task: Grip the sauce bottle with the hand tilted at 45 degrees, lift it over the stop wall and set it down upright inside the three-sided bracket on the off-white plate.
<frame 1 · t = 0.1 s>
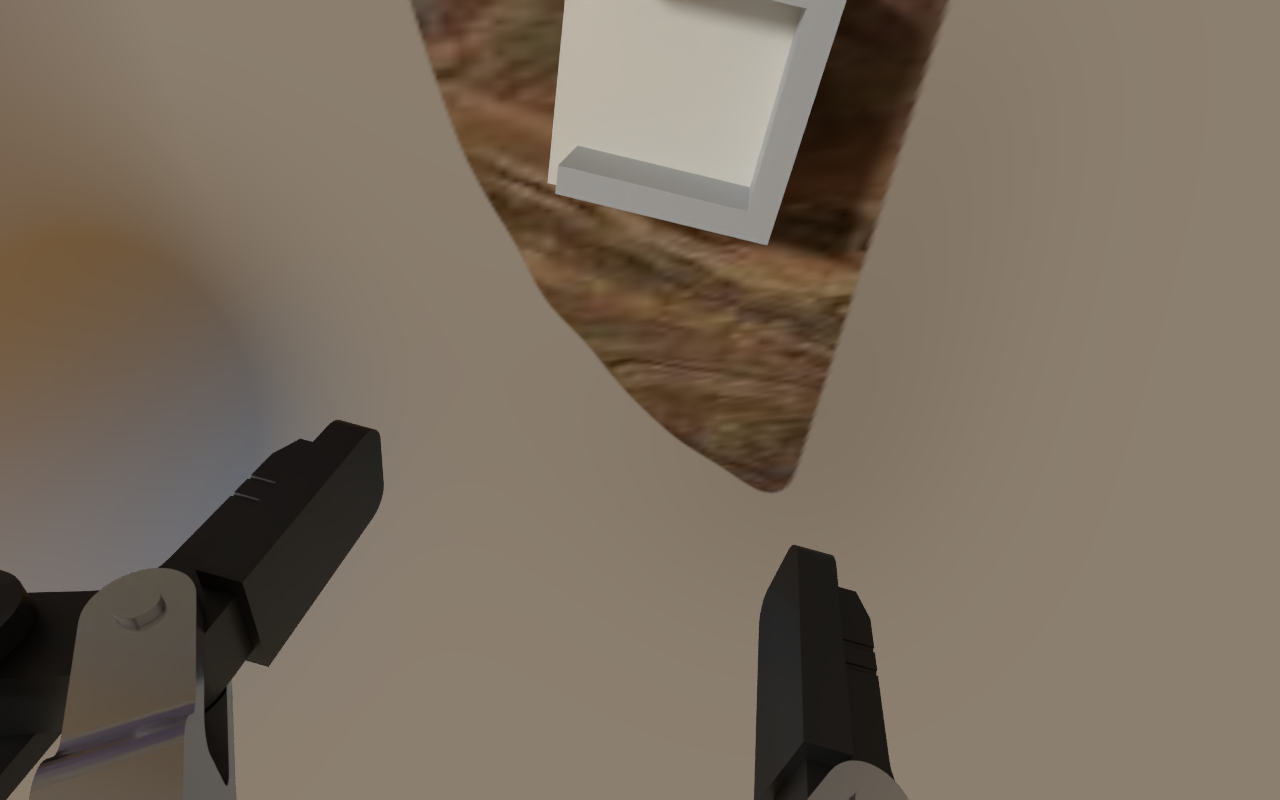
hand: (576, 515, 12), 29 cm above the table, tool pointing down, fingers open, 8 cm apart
lock plate: (682, 76, 34), on the table
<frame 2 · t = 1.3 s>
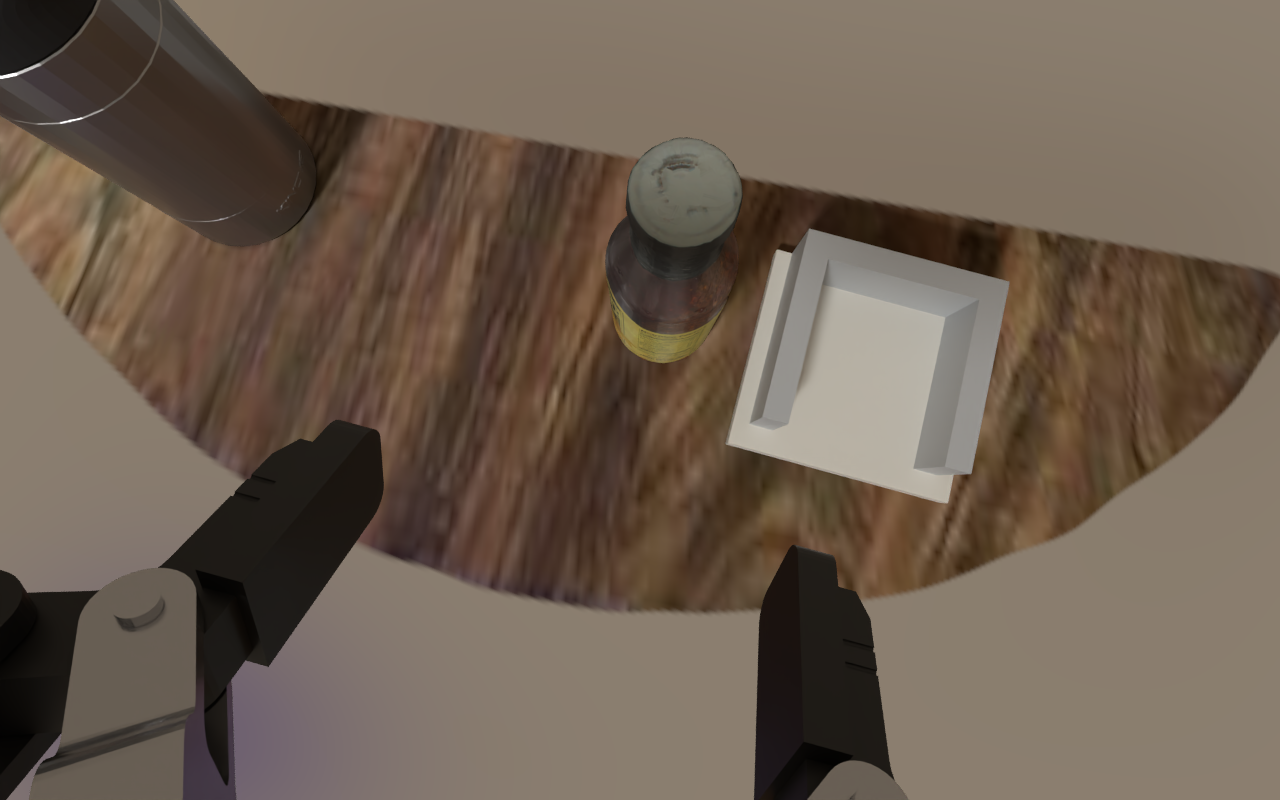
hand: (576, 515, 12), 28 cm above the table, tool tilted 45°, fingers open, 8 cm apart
sauce bottle: (660, 324, 42), on the table
lock plate: (854, 375, 41), on the table
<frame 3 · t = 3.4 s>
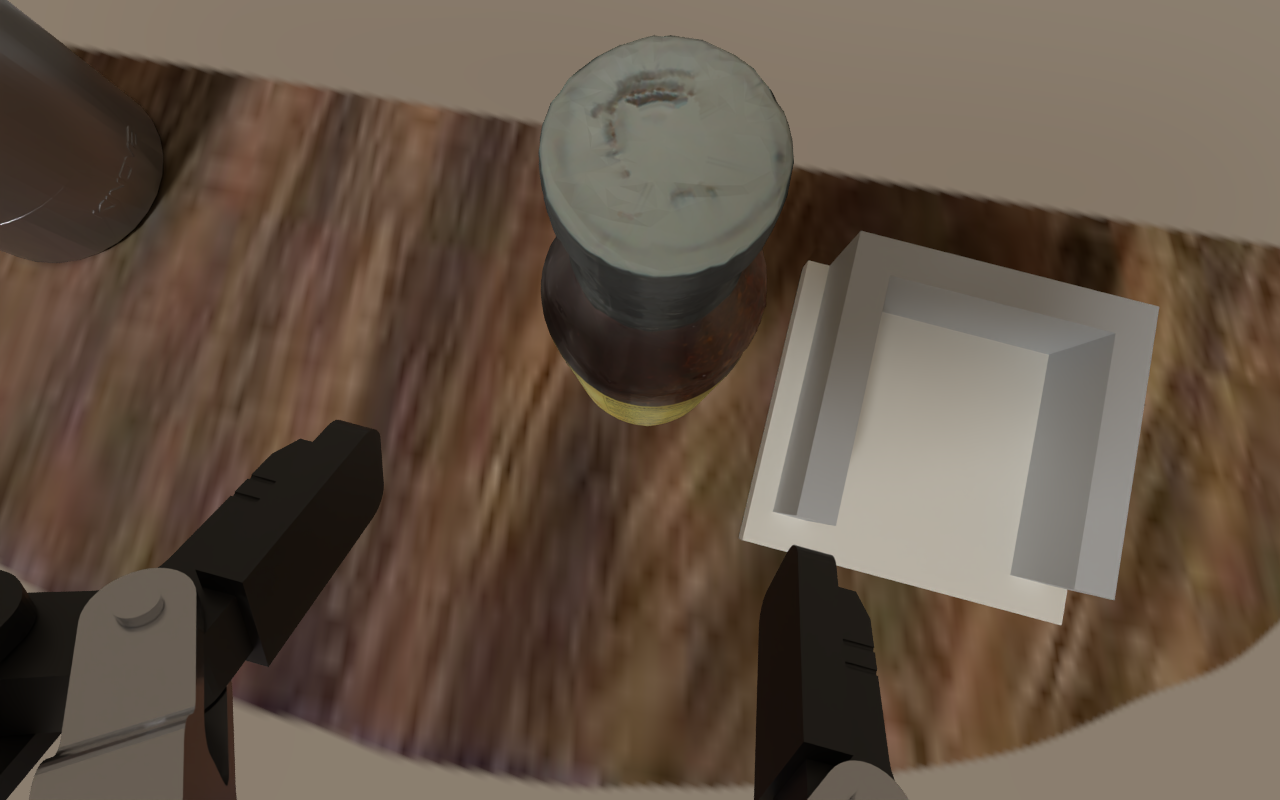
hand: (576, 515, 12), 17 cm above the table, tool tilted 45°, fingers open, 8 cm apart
sauce bottle: (645, 366, 30), on the table
lock plate: (920, 437, 29), on the table
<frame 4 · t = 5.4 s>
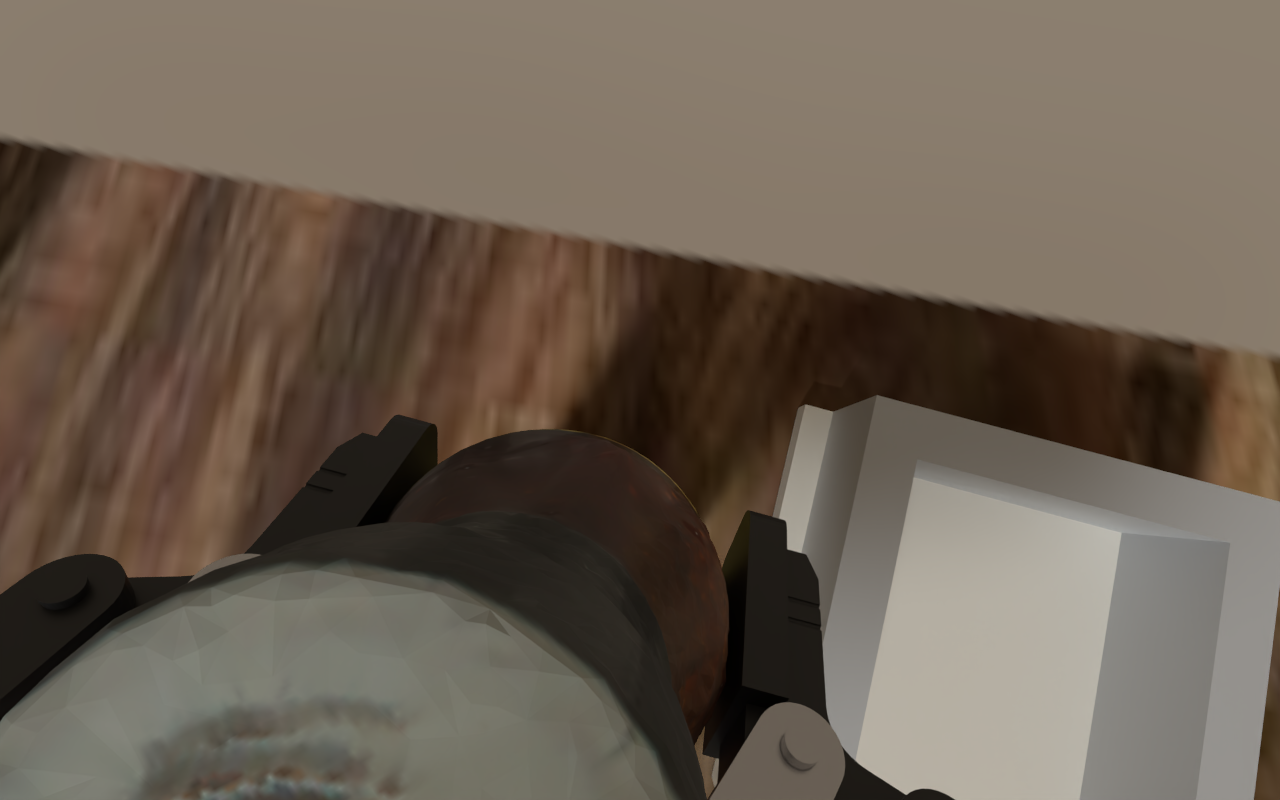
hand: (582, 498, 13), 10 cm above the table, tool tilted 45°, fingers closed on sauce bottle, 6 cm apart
sauce bottle: (592, 539, 23), on the table, touching gripper
lock plate: (950, 637, 22), on the table
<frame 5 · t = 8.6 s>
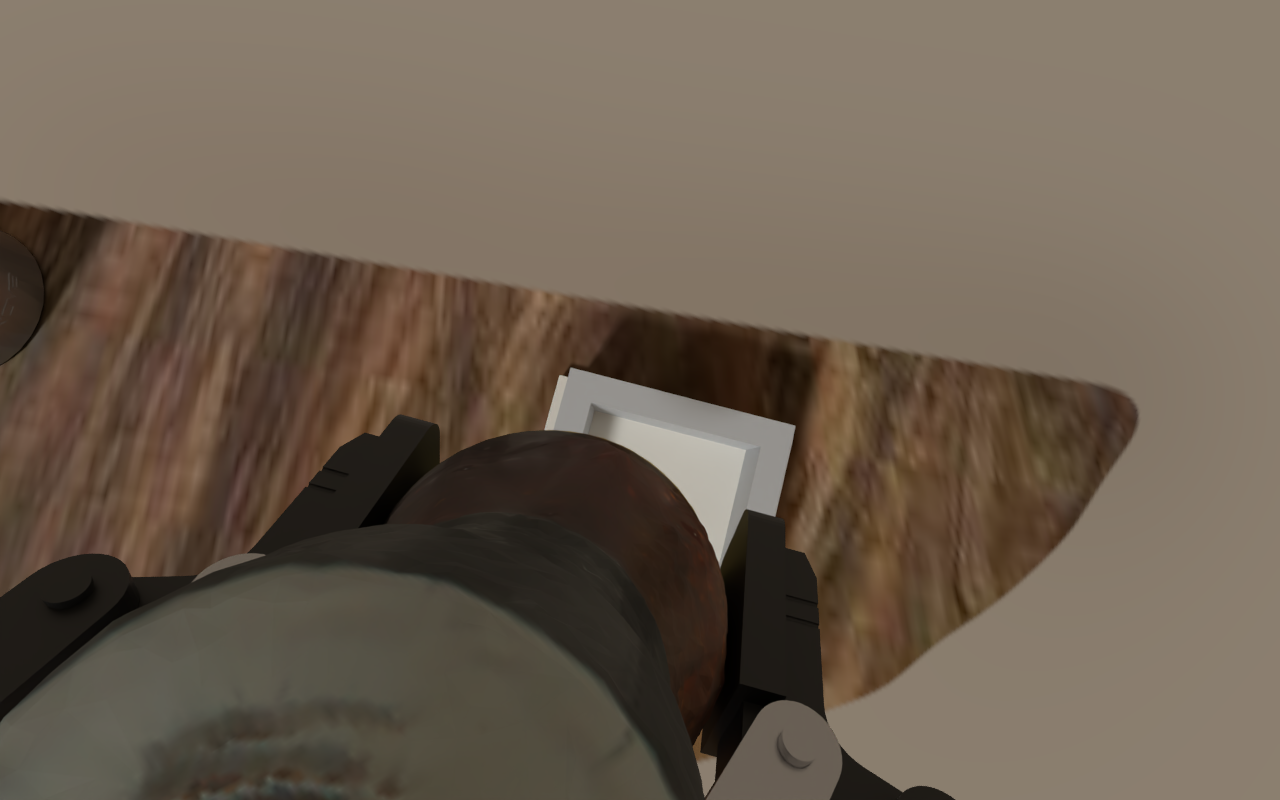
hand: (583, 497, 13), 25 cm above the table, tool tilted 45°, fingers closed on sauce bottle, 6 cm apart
sauce bottle: (591, 540, 23), point 14 cm above the table, touching gripper
lock plate: (648, 514, 37), on the table
when the fingers open (12 cm above the table, at t = 11.8 s): sauce bottle stays where it is, resting on lock plate.
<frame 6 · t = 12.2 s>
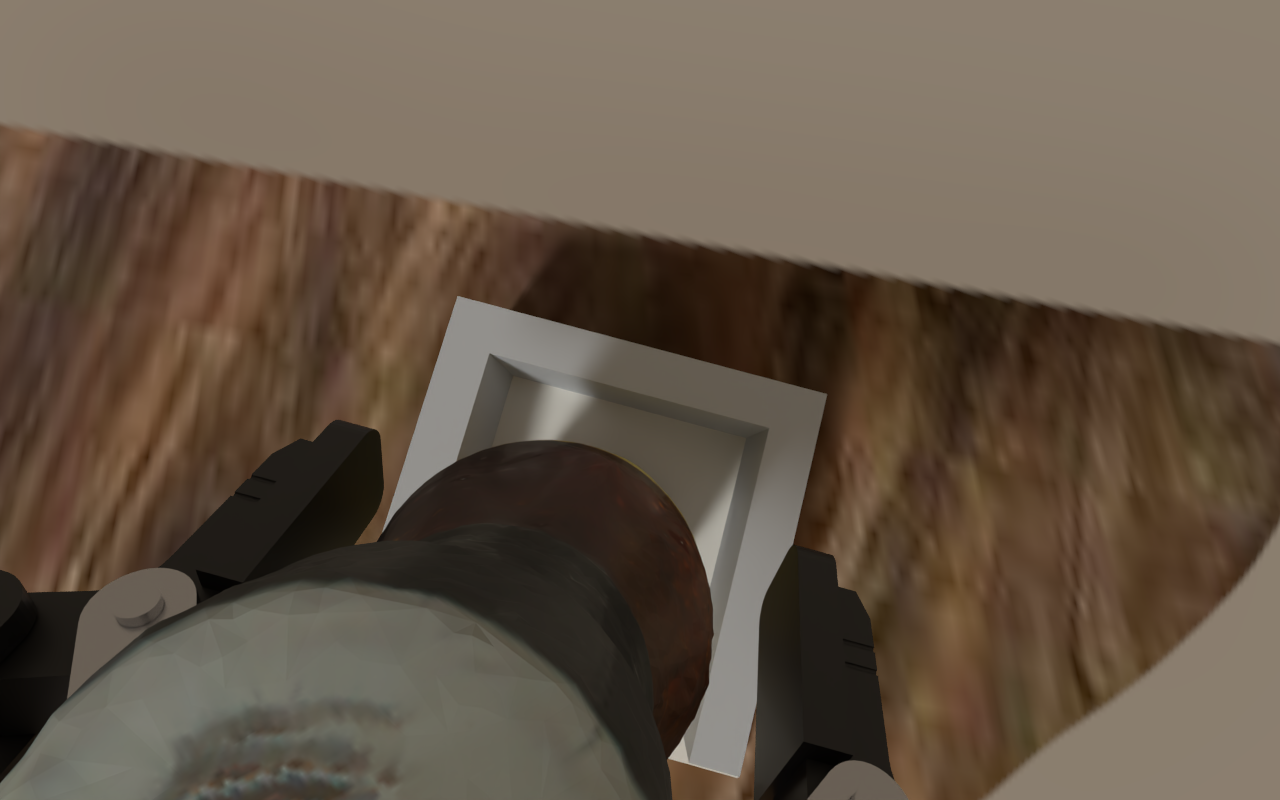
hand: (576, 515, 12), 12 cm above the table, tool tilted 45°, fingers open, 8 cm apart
sauce bottle: (587, 543, 23), point 1 cm above the table, touching lock plate
lock plate: (594, 537, 24), on the table
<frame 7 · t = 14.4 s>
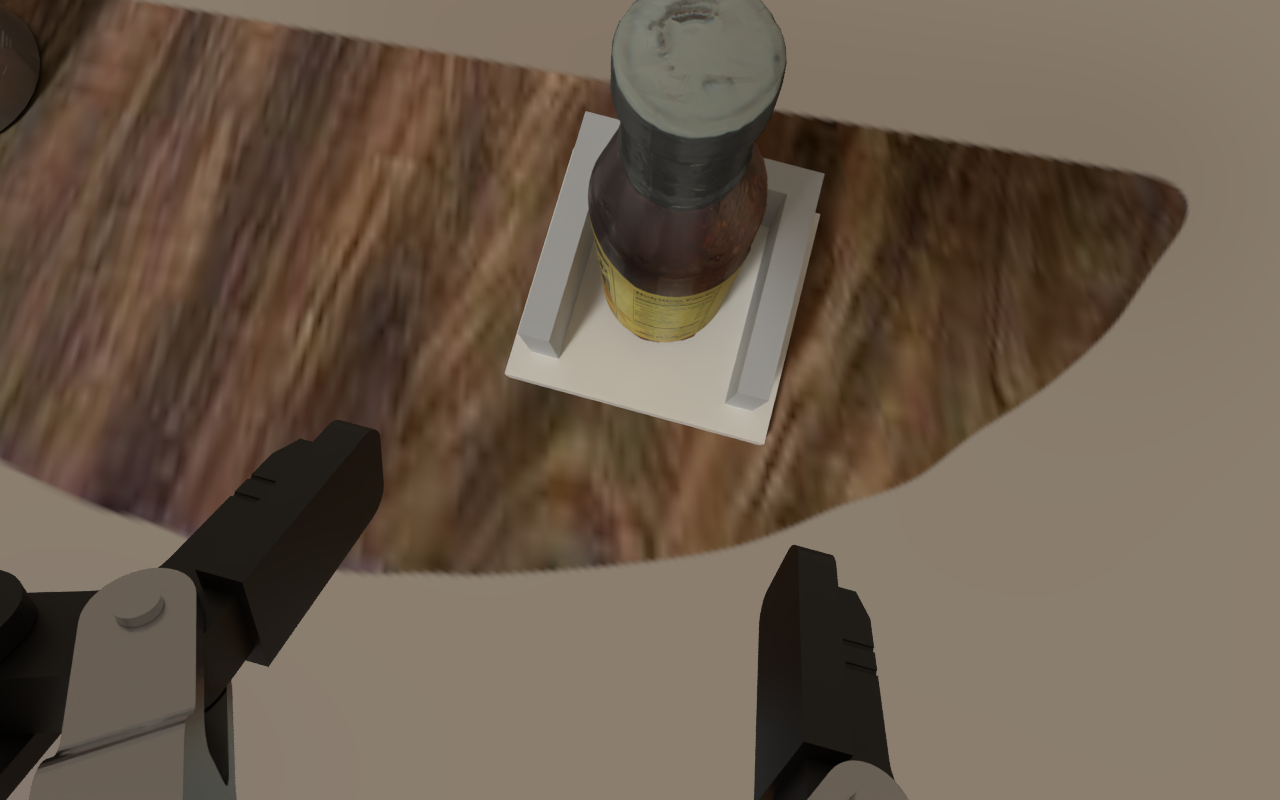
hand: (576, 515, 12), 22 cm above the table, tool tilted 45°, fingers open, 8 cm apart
sauce bottle: (661, 296, 34), point 1 cm above the table, touching lock plate
lock plate: (664, 297, 35), on the table
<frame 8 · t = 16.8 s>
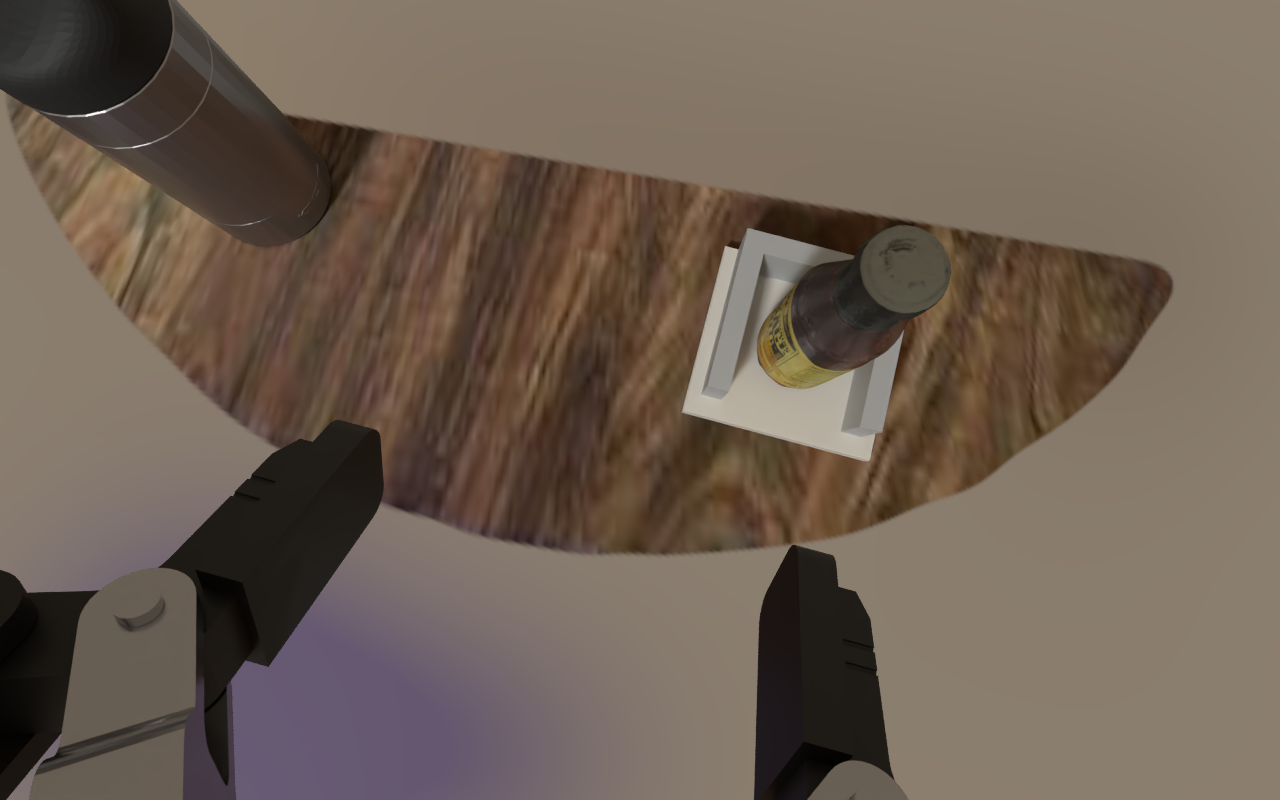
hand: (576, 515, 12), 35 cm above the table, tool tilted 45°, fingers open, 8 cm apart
sauce bottle: (792, 353, 47), point 1 cm above the table, touching lock plate
lock plate: (792, 353, 48), on the table
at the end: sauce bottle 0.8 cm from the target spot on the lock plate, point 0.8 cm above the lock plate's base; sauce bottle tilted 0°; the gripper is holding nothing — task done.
